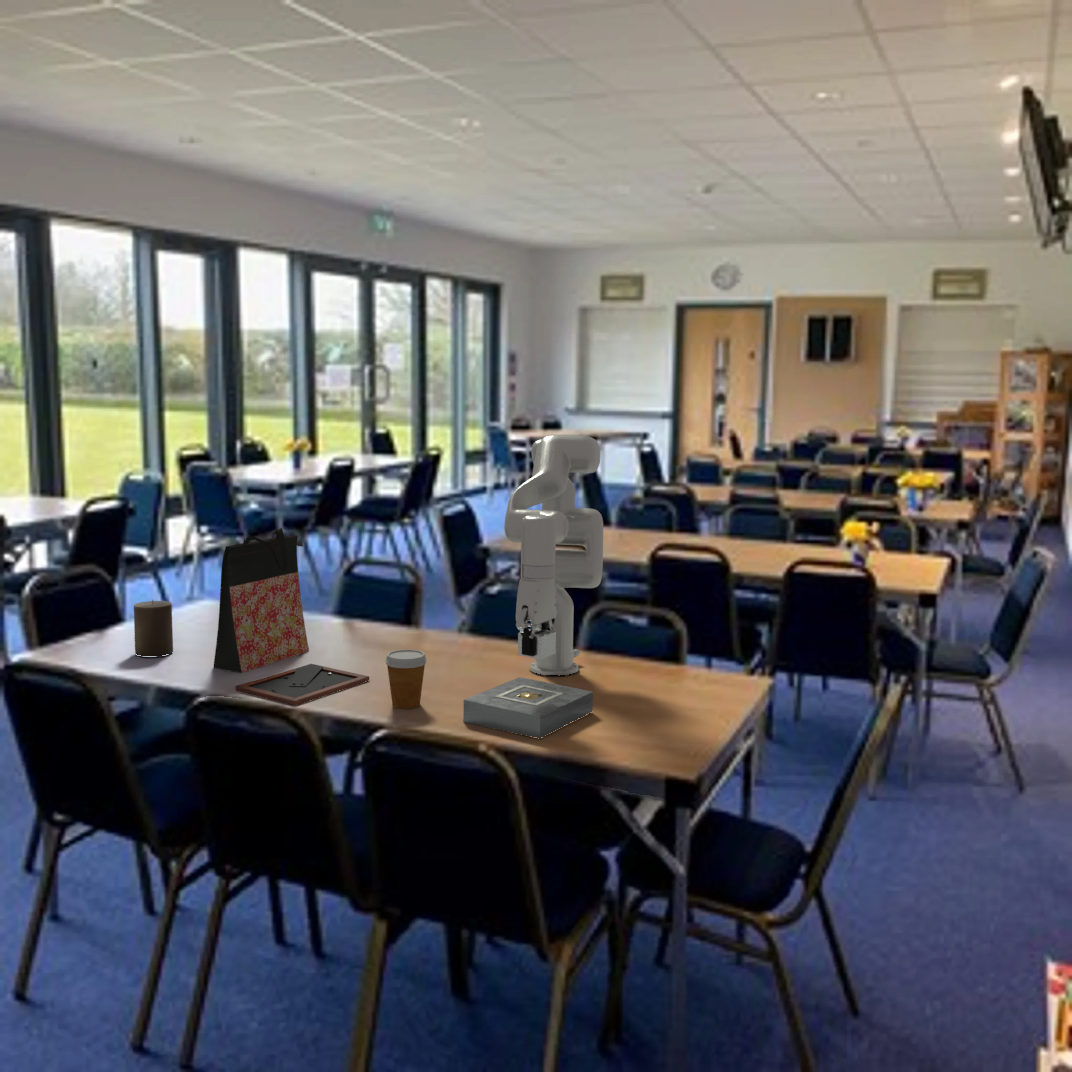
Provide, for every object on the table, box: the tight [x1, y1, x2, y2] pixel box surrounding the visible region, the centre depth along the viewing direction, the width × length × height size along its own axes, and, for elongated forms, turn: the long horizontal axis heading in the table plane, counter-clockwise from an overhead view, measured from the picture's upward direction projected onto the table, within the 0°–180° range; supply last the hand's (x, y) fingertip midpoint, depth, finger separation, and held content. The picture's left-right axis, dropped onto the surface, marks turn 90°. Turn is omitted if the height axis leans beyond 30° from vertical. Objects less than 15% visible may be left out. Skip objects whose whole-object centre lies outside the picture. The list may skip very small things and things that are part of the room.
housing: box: [517, 627, 556, 660], centre depth 230 cm, size 6×6×5 cm
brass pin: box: [520, 692, 538, 700], centre depth 232 cm, size 4×4×5 cm
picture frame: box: [234, 663, 370, 707], centre depth 254 cm, size 20×2×25 cm
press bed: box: [462, 676, 594, 740], centre depth 232 cm, size 22×20×5 cm
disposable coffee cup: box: [384, 649, 428, 710], centre depth 239 cm, size 10×10×12 cm
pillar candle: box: [133, 599, 174, 656], centre depth 280 cm, size 10×10×15 cm
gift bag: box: [213, 527, 310, 674], centre depth 276 cm, size 29×14×35 cm, turn 152°
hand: (536, 651), depth 230 cm, fingers closed on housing, 6 cm apart
